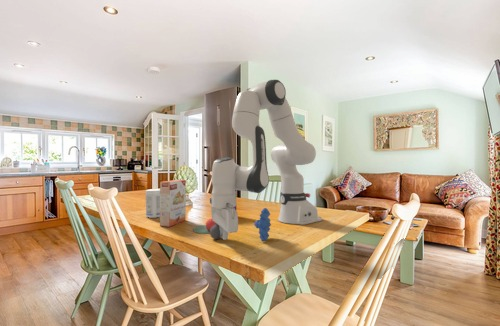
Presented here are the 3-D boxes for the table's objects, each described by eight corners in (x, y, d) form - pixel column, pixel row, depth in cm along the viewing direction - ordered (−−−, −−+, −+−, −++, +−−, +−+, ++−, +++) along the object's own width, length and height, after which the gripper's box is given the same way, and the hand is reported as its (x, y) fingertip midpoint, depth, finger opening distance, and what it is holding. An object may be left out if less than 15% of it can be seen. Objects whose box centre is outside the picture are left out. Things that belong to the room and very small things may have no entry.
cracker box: (170, 227, 114) (170, 181, 114) (159, 226, 116) (158, 181, 116) (186, 220, 128) (186, 179, 127) (176, 219, 129) (175, 179, 129)
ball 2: (227, 230, 96) (225, 238, 99) (220, 219, 99) (219, 228, 102) (214, 235, 93) (213, 244, 96) (207, 224, 96) (207, 233, 99)
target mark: (219, 223, 121) (219, 223, 121) (229, 231, 108) (229, 230, 108) (190, 226, 115) (190, 226, 115) (197, 235, 102) (197, 234, 102)
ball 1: (220, 230, 106) (217, 231, 110) (219, 217, 107) (216, 219, 112) (207, 231, 103) (204, 232, 108) (206, 218, 105) (204, 220, 110)
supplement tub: (164, 213, 143) (164, 188, 143) (164, 217, 134) (164, 190, 134) (146, 215, 140) (145, 189, 140) (145, 219, 131) (145, 191, 131)
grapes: (256, 234, 103) (256, 205, 103) (273, 235, 101) (272, 206, 101) (250, 244, 91) (250, 211, 91) (269, 245, 90) (268, 212, 90)
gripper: (242, 205, 84) (242, 245, 85) (223, 197, 103) (223, 230, 103) (225, 206, 82) (225, 248, 82) (208, 198, 100) (208, 232, 101)
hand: (224, 238), depth 93 cm, fingers closed
